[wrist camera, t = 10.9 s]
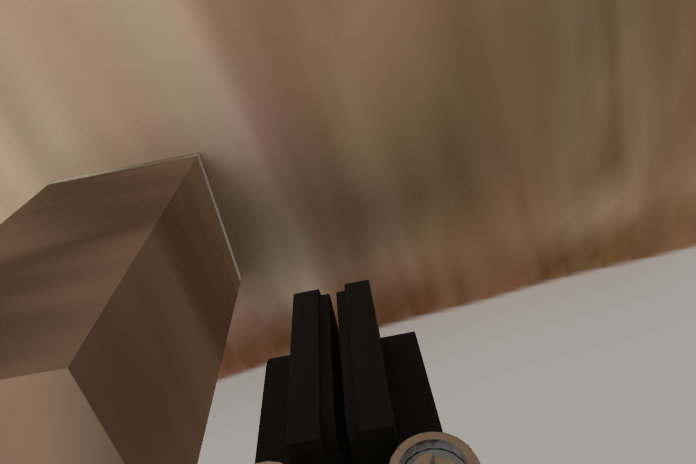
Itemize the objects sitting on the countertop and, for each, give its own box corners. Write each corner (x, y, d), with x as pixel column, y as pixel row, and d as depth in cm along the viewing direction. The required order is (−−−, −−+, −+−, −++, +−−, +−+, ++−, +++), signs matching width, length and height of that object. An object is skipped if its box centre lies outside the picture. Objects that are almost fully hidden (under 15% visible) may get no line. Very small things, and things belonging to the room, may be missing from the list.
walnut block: (199, 152, 17) (67, 367, 8) (241, 277, 19) (176, 550, 10) (52, 180, 17) (-238, 422, 8) (112, 301, 19) (-61, 589, 10)
